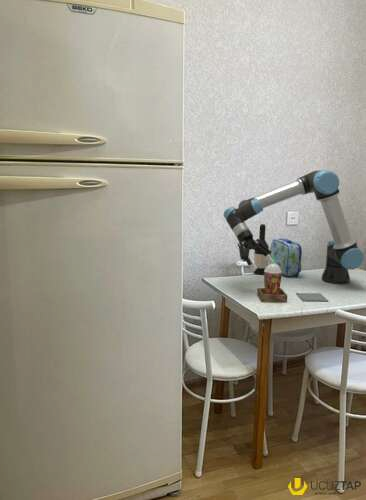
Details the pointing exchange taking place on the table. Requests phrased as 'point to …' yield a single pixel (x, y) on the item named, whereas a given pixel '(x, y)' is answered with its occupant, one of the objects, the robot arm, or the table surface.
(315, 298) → the coaster
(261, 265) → the wine bottle
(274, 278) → the smoothie
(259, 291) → the tray
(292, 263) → the lunch box
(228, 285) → the table surface
